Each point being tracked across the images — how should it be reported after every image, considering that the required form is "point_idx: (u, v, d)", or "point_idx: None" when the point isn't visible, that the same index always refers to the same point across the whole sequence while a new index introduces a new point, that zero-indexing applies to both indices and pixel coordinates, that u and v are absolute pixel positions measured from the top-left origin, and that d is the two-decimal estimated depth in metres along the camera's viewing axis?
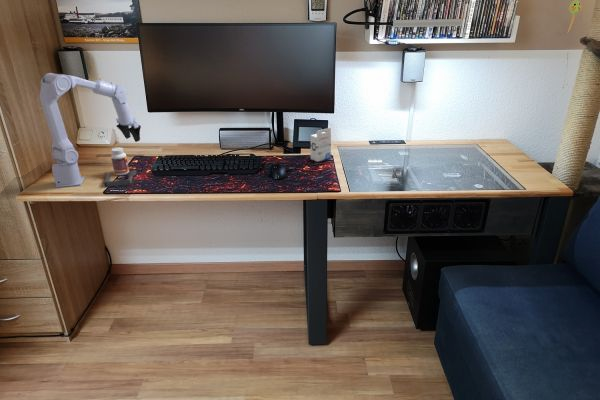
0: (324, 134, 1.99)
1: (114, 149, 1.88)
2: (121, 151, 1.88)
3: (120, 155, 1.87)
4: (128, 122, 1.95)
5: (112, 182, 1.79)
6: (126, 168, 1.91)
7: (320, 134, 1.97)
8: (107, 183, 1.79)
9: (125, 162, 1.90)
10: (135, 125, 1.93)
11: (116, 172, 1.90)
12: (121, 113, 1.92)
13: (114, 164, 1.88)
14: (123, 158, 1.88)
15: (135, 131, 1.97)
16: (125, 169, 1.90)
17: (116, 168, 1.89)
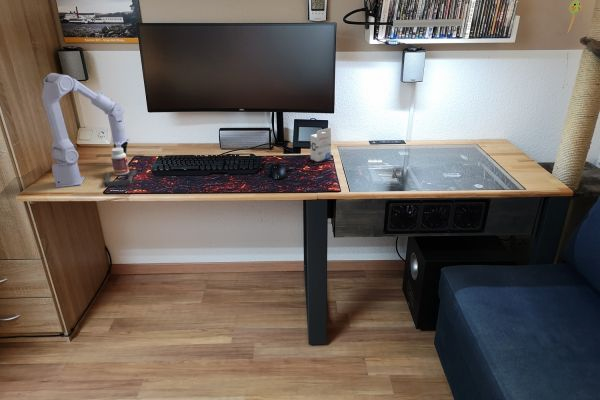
0: (324, 134, 1.99)
1: (114, 149, 1.88)
2: (121, 151, 1.88)
3: (120, 155, 1.87)
4: (117, 141, 1.94)
5: (112, 182, 1.79)
6: (126, 168, 1.91)
7: (320, 134, 1.97)
8: (107, 183, 1.79)
9: (125, 162, 1.90)
10: (116, 146, 1.91)
11: (116, 172, 1.90)
12: (115, 131, 1.92)
13: (114, 164, 1.88)
14: (123, 158, 1.88)
15: None
16: (125, 169, 1.90)
17: (116, 168, 1.89)
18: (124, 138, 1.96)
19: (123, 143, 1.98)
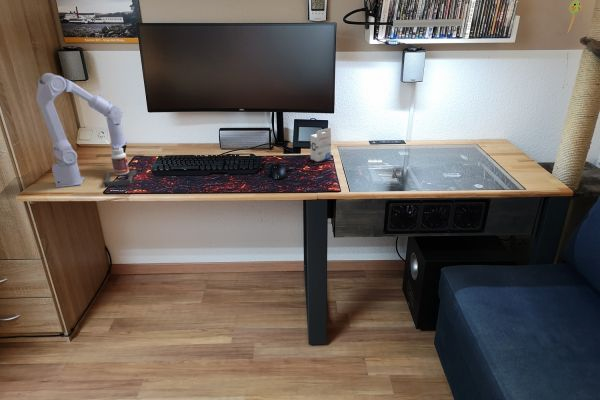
0: (324, 134, 1.99)
1: None
2: (121, 151, 1.88)
3: (120, 155, 1.87)
4: (115, 144, 1.90)
5: (112, 182, 1.79)
6: (126, 168, 1.91)
7: (320, 134, 1.97)
8: (107, 183, 1.79)
9: (125, 162, 1.90)
10: (115, 149, 1.87)
11: (116, 172, 1.90)
12: (113, 134, 1.88)
13: (114, 164, 1.88)
14: (123, 158, 1.88)
15: None
16: (125, 169, 1.90)
17: (116, 168, 1.89)
18: (123, 141, 1.91)
19: (122, 146, 1.94)
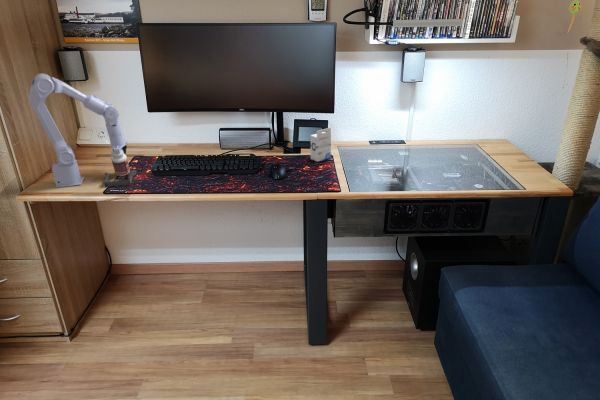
0: (324, 134, 1.99)
1: (114, 152, 1.83)
2: (121, 155, 1.83)
3: (120, 159, 1.84)
4: (115, 145, 1.85)
5: (112, 182, 1.79)
6: (126, 170, 1.89)
7: (320, 134, 1.97)
8: (107, 183, 1.79)
9: (125, 165, 1.87)
10: (115, 151, 1.82)
11: (116, 173, 1.88)
12: (110, 135, 1.83)
13: (114, 166, 1.86)
14: (123, 162, 1.85)
15: None
16: (125, 171, 1.88)
17: (116, 170, 1.87)
18: (123, 142, 1.86)
19: (122, 147, 1.89)
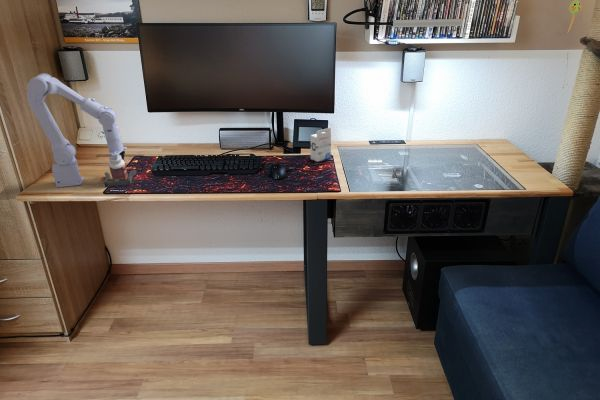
0: (324, 134, 1.99)
1: None
2: (119, 161, 1.78)
3: (118, 165, 1.78)
4: (113, 151, 1.79)
5: (112, 182, 1.79)
6: (124, 176, 1.83)
7: (320, 134, 1.97)
8: (107, 183, 1.79)
9: (123, 171, 1.81)
10: (113, 156, 1.76)
11: (114, 179, 1.82)
12: (107, 140, 1.78)
13: (112, 172, 1.80)
14: (121, 167, 1.79)
15: None
16: (123, 177, 1.82)
17: (114, 176, 1.81)
18: (121, 147, 1.80)
19: (120, 153, 1.83)
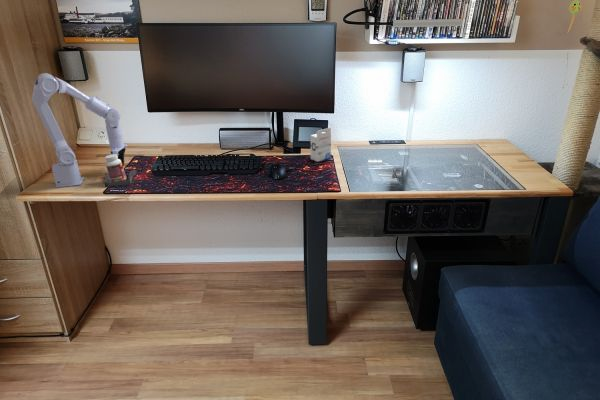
0: (324, 134, 1.99)
1: (108, 156, 1.79)
2: (115, 157, 1.79)
3: (114, 162, 1.79)
4: (114, 147, 1.86)
5: (112, 182, 1.79)
6: (122, 175, 1.82)
7: (320, 134, 1.97)
8: (107, 183, 1.79)
9: (121, 168, 1.81)
10: (113, 152, 1.83)
11: (112, 180, 1.81)
12: (110, 137, 1.84)
13: (109, 172, 1.80)
14: (118, 164, 1.79)
15: (119, 156, 1.90)
16: (121, 176, 1.81)
17: (112, 176, 1.80)
18: (121, 144, 1.87)
19: (121, 149, 1.90)
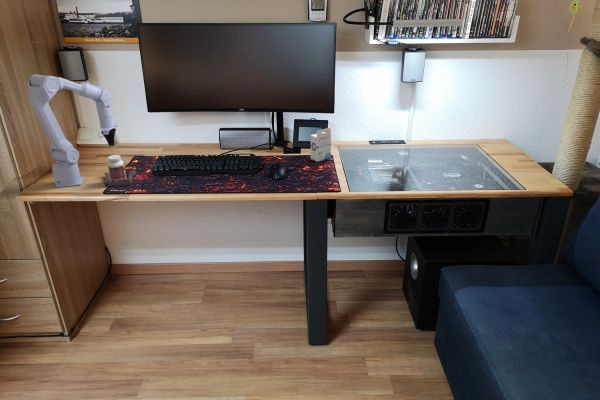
0: (324, 134, 1.99)
1: (111, 157, 1.78)
2: (118, 159, 1.78)
3: (117, 163, 1.78)
4: (104, 127, 1.91)
5: (112, 182, 1.79)
6: (124, 176, 1.82)
7: (320, 134, 1.97)
8: (107, 183, 1.79)
9: (123, 170, 1.81)
10: (104, 132, 1.88)
11: None
12: (104, 117, 1.89)
13: (111, 173, 1.79)
14: (121, 166, 1.79)
15: (109, 135, 1.95)
16: (122, 178, 1.82)
17: (114, 177, 1.80)
18: (112, 124, 1.92)
19: (111, 129, 1.95)
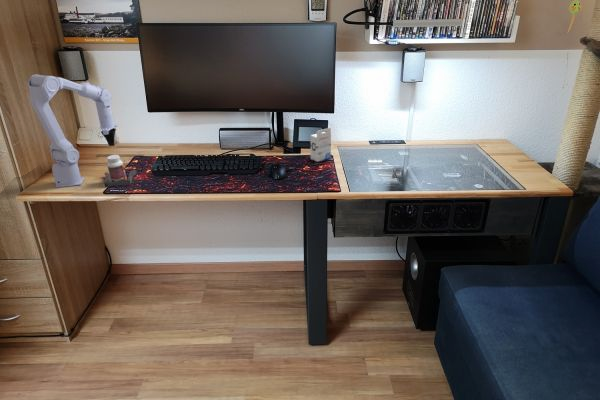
0: (324, 134, 1.99)
1: (110, 157, 1.79)
2: (118, 159, 1.79)
3: (117, 163, 1.79)
4: (104, 127, 1.91)
5: (112, 182, 1.79)
6: (124, 176, 1.82)
7: (320, 134, 1.97)
8: (107, 183, 1.79)
9: (123, 170, 1.81)
10: (104, 132, 1.88)
11: None
12: (104, 117, 1.89)
13: (111, 173, 1.79)
14: (120, 166, 1.80)
15: (109, 135, 1.95)
16: (123, 177, 1.82)
17: (114, 177, 1.80)
18: (112, 124, 1.92)
19: (111, 129, 1.95)
